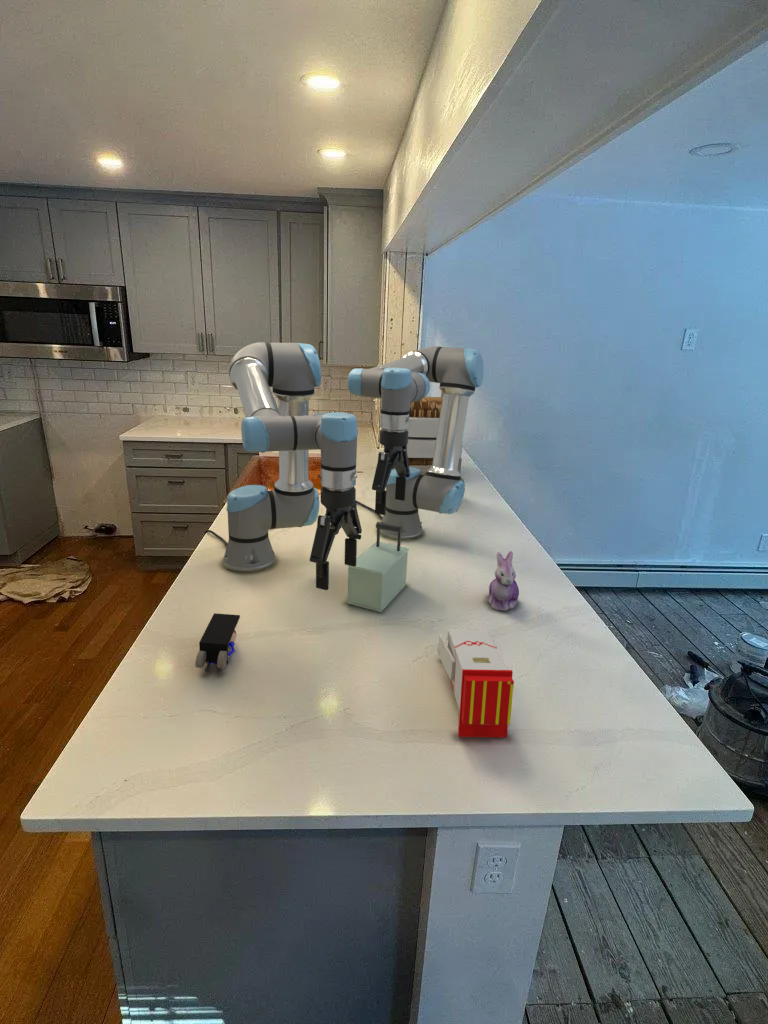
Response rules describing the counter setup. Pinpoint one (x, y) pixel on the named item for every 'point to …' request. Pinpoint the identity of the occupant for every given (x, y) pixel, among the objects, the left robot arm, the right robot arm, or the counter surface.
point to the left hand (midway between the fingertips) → (336, 576)
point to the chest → (376, 586)
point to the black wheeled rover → (217, 641)
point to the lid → (381, 552)
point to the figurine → (503, 584)
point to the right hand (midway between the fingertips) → (390, 506)
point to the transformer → (424, 431)
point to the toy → (478, 682)
